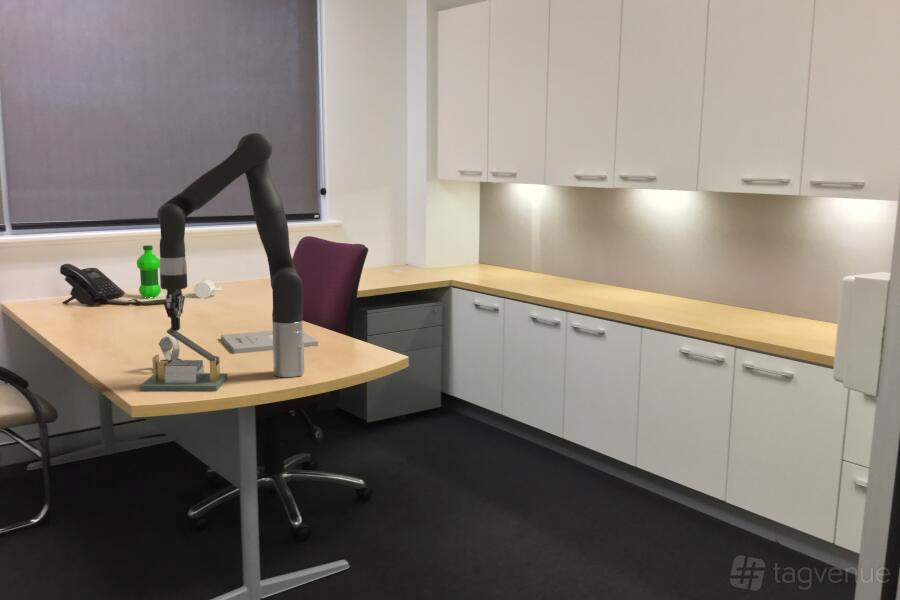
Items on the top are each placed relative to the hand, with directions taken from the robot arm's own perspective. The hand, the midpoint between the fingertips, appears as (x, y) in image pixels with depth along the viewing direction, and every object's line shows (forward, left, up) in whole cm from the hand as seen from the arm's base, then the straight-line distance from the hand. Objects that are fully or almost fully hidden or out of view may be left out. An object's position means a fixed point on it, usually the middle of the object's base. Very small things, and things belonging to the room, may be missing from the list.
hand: (175, 330), depth 239 cm
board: (-2, 0, -17) cm, 17 cm away
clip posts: (-3, 0, -15) cm, 15 cm away
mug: (+29, -154, -17) cm, 158 cm away
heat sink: (-2, 0, -15) cm, 15 cm away
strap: (-4, 0, -5) cm, 7 cm away
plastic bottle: (+56, -150, -17) cm, 161 cm away
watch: (+7, -17, -17) cm, 25 cm away
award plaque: (-17, -56, -17) cm, 61 cm away
